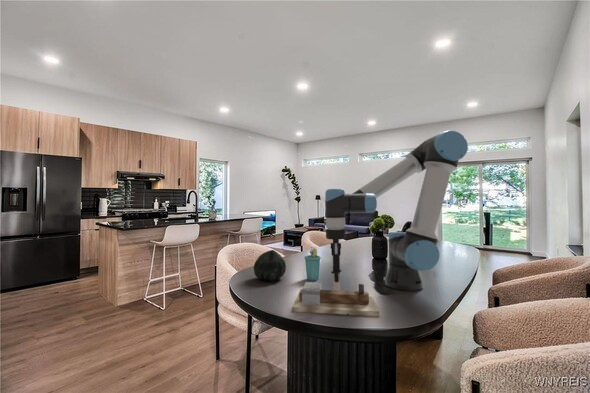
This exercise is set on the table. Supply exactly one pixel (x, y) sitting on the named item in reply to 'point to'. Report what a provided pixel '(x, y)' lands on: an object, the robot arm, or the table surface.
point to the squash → (269, 266)
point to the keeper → (311, 294)
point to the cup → (312, 265)
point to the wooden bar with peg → (343, 296)
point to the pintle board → (339, 308)
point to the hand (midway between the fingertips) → (336, 289)
